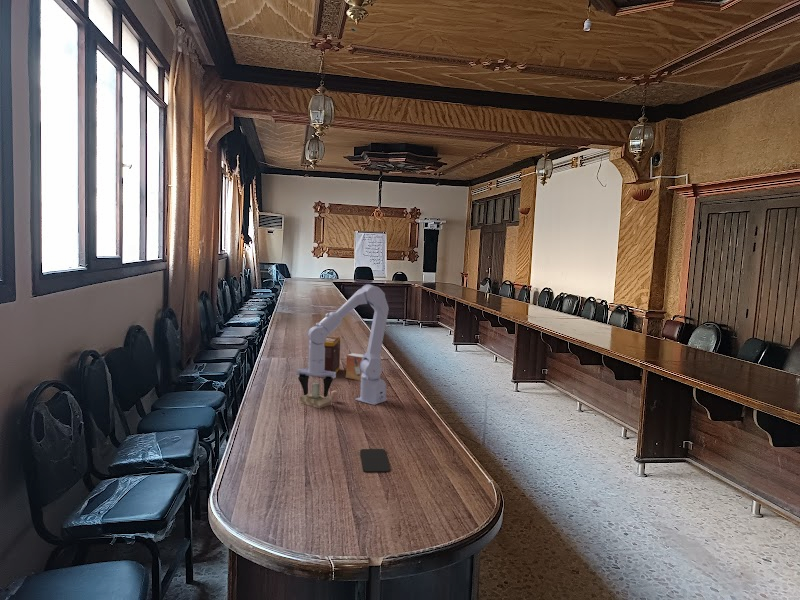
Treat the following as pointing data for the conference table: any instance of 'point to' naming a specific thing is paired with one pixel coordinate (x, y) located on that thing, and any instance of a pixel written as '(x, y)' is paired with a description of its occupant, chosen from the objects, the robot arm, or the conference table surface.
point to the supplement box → (332, 354)
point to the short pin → (334, 396)
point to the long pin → (315, 390)
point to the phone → (374, 460)
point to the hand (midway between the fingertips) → (315, 395)
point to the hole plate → (315, 400)
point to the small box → (354, 366)
